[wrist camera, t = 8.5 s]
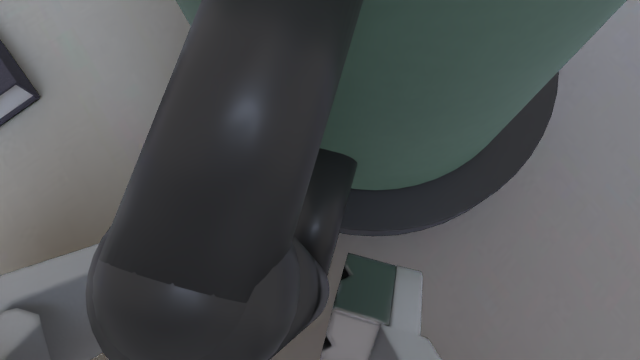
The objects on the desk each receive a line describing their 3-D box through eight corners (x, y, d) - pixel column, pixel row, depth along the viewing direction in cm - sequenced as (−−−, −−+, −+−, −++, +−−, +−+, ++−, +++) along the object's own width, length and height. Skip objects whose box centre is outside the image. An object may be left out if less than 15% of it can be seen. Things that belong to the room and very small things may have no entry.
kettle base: (615, 65, 19) (637, 46, 17) (375, 316, 17) (377, 318, 15) (367, -118, 22) (368, -146, 21) (140, 73, 20) (124, 56, 18)
